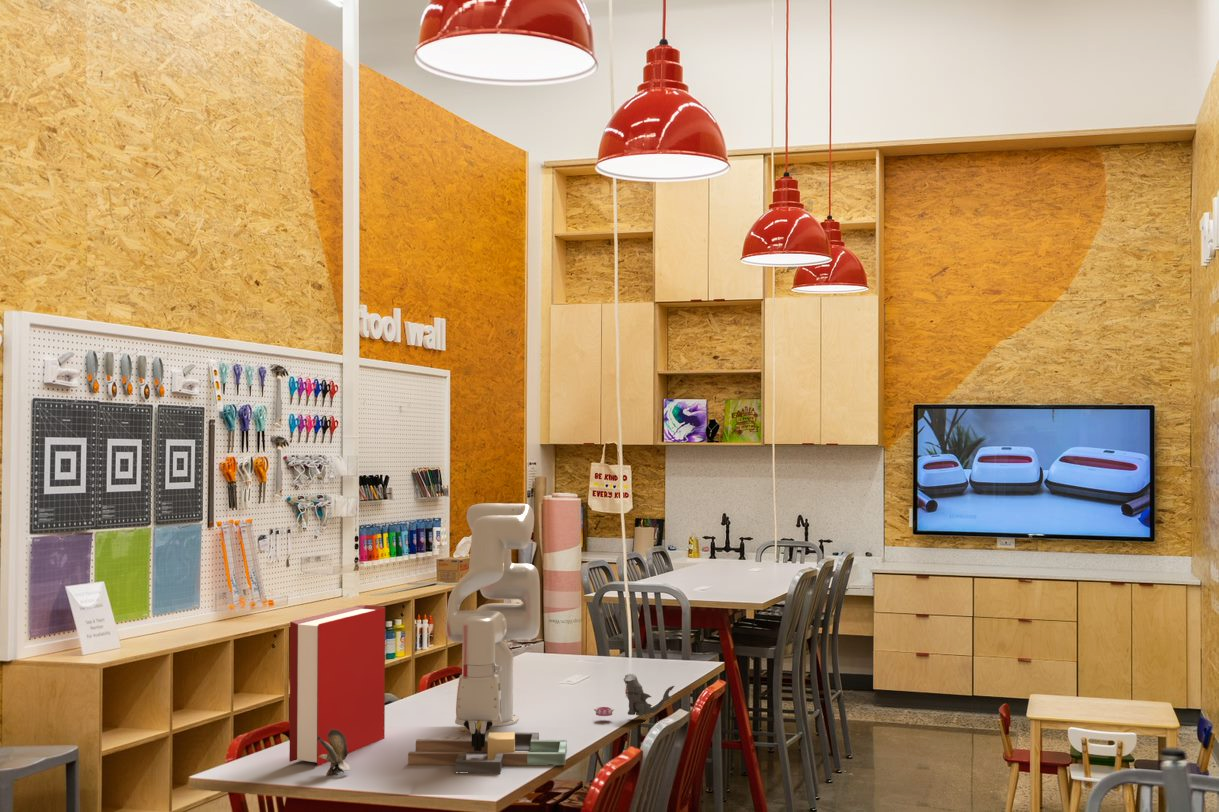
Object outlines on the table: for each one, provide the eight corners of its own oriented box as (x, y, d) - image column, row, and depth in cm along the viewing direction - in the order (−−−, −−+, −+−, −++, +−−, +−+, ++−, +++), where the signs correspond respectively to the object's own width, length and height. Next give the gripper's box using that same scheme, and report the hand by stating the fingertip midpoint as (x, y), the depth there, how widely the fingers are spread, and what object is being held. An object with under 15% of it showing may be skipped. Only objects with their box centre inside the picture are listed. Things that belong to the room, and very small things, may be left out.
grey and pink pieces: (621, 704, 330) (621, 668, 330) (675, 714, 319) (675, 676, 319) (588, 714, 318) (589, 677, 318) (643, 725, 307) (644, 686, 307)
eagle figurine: (321, 768, 268) (321, 728, 268) (353, 768, 268) (353, 728, 268) (314, 778, 260) (314, 737, 261) (347, 778, 261) (347, 737, 261)
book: (317, 766, 270) (318, 624, 270) (289, 761, 273) (290, 621, 273) (387, 737, 295) (388, 606, 295) (360, 733, 298) (361, 604, 298)
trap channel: (421, 742, 290) (421, 732, 290) (567, 743, 290) (567, 732, 290) (403, 773, 265) (403, 761, 265) (563, 773, 265) (563, 762, 265)
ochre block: (489, 754, 280) (489, 732, 280) (514, 753, 280) (514, 732, 280) (487, 761, 274) (487, 739, 274) (513, 761, 274) (513, 739, 274)
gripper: (512, 667, 281) (512, 745, 281) (448, 666, 281) (448, 745, 281) (509, 673, 273) (509, 754, 273) (444, 673, 274) (443, 754, 273)
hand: (478, 749), depth 277 cm, fingers closed
